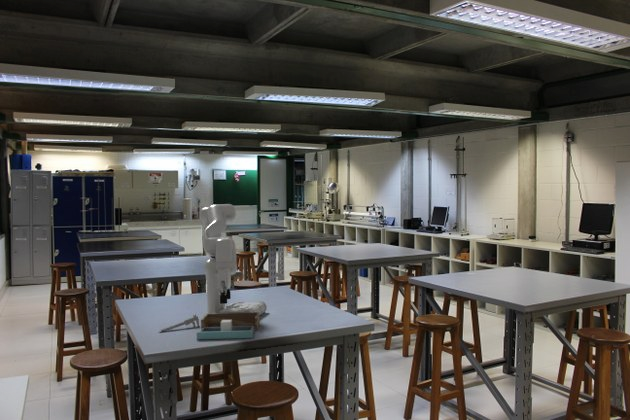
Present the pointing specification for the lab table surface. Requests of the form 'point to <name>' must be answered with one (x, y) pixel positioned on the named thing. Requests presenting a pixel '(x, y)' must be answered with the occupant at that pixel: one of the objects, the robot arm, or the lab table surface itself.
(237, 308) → the white folded cloth
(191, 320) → the caliper
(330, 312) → the lab table surface
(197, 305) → the lab table surface
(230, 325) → the white speckled block
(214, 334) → the tray
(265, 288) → the lab table surface
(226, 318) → the dock
